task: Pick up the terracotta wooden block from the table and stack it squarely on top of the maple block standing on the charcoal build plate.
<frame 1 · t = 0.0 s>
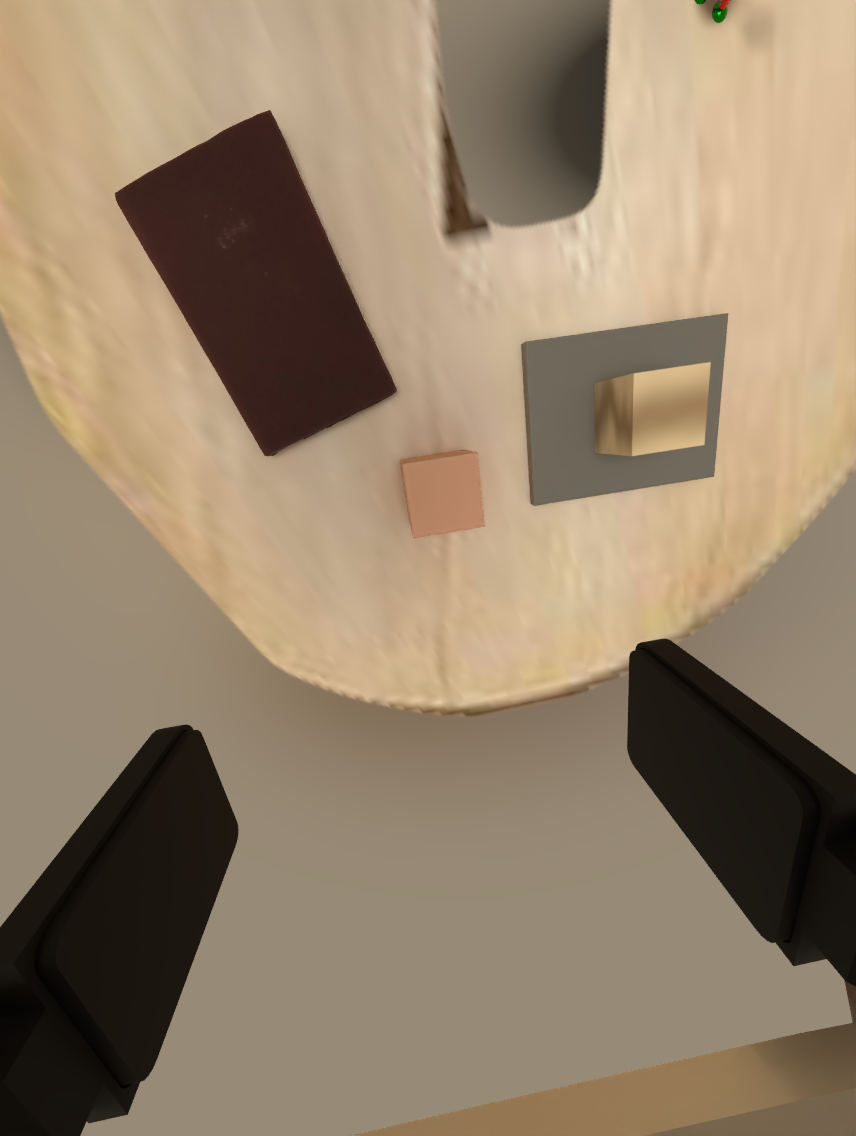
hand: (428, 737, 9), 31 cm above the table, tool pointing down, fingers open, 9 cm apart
build plate: (620, 414, 38), on the table
terracotta block: (436, 487, 38), on the table
maple block: (626, 414, 37), point 1 cm above the table, touching build plate
book: (277, 312, 33), on the table
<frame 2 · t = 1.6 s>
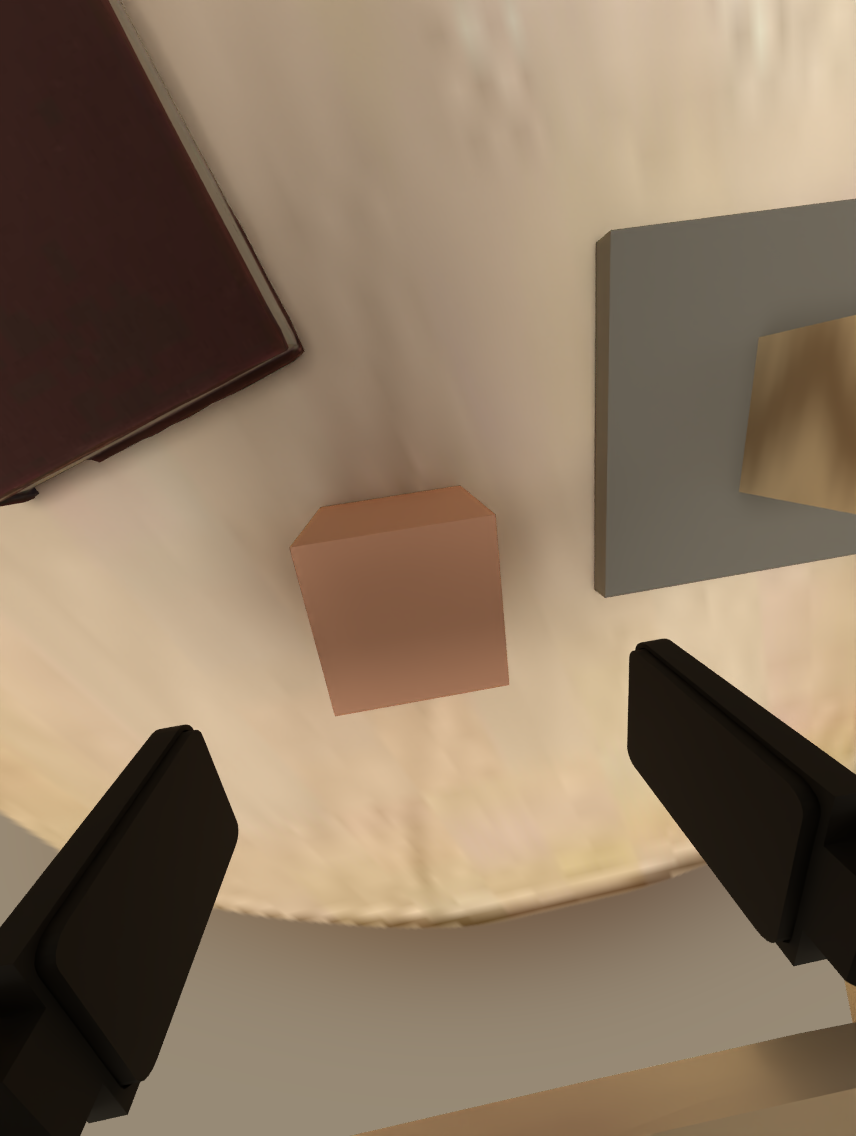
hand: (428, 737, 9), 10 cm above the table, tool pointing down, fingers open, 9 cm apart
build plate: (793, 409, 18), on the table
terracotta block: (402, 561, 18), on the table
maple block: (816, 408, 17), point 1 cm above the table, touching build plate
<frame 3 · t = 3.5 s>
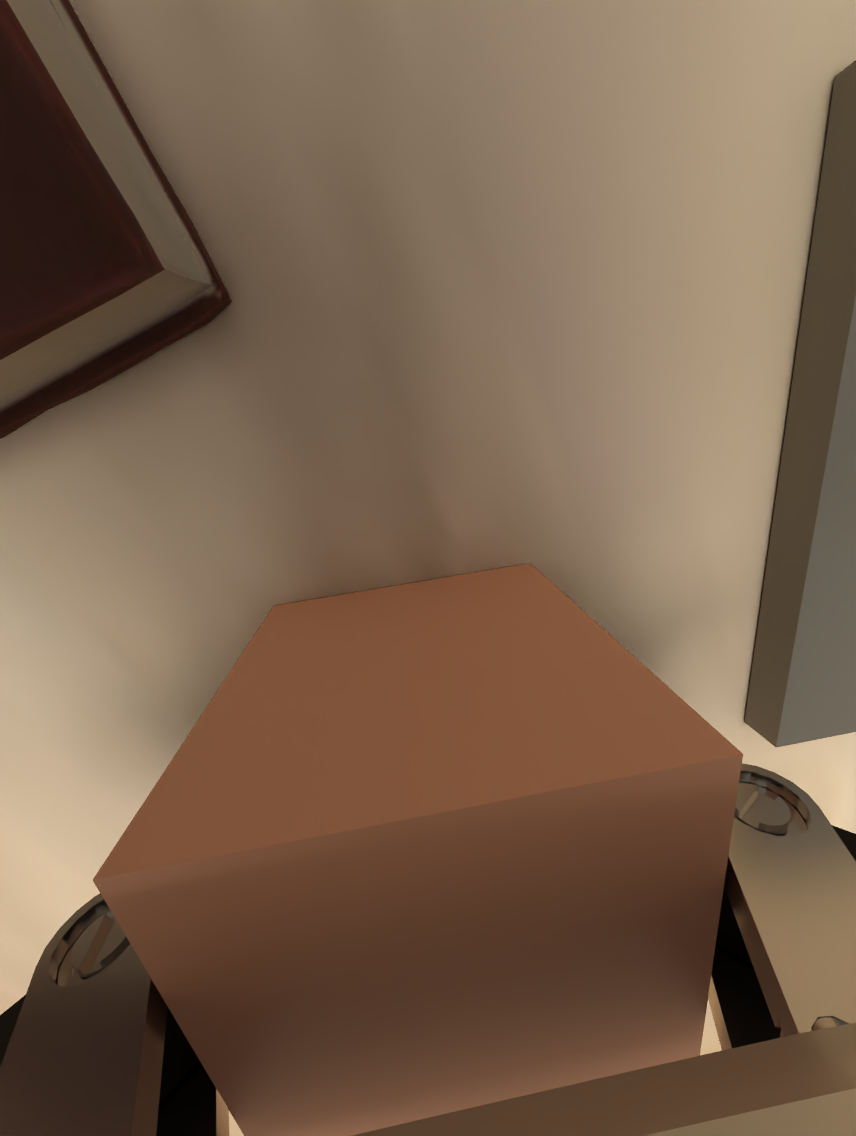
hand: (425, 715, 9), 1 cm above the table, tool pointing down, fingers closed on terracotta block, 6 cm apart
terracotta block: (422, 692, 10), on the table, touching gripper
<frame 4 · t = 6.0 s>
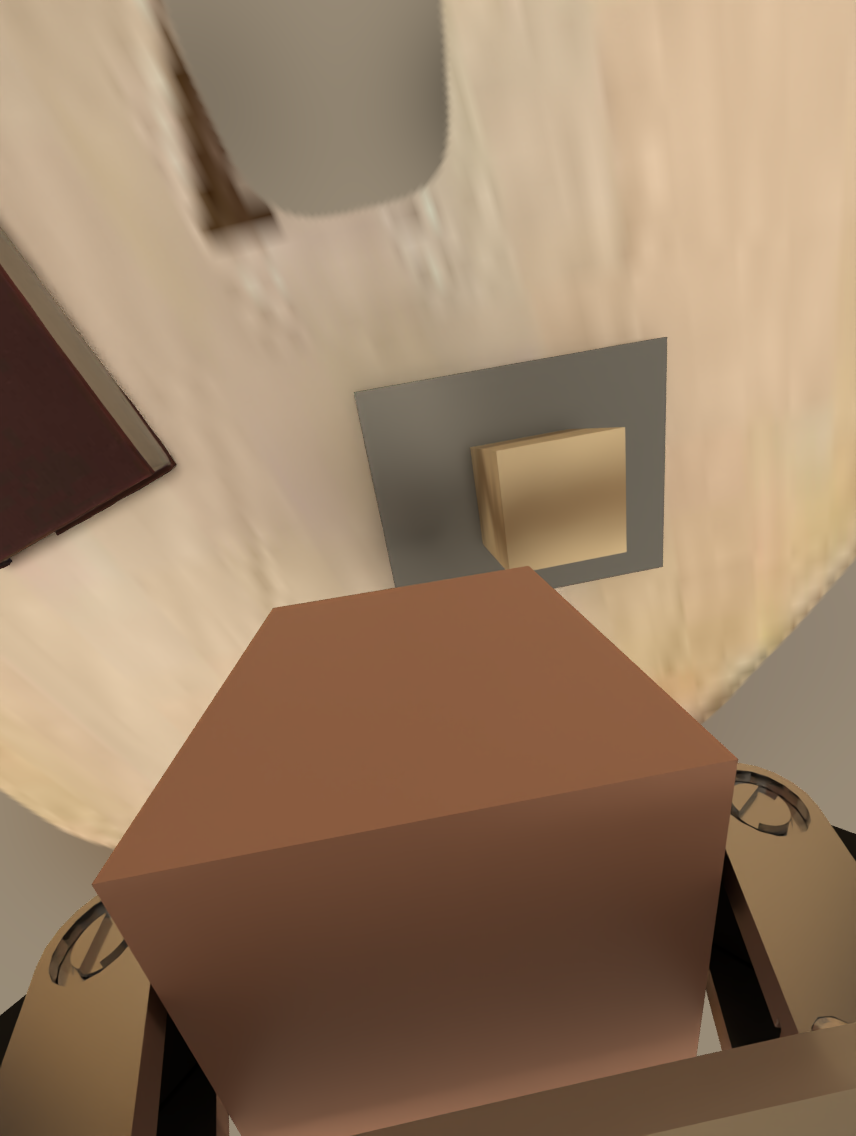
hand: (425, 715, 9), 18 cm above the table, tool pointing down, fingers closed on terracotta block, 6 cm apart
build plate: (519, 486, 26), on the table
terracotta block: (421, 694, 10), point 17 cm above the table, touching gripper
maple block: (524, 488, 25), point 1 cm above the table, touching build plate
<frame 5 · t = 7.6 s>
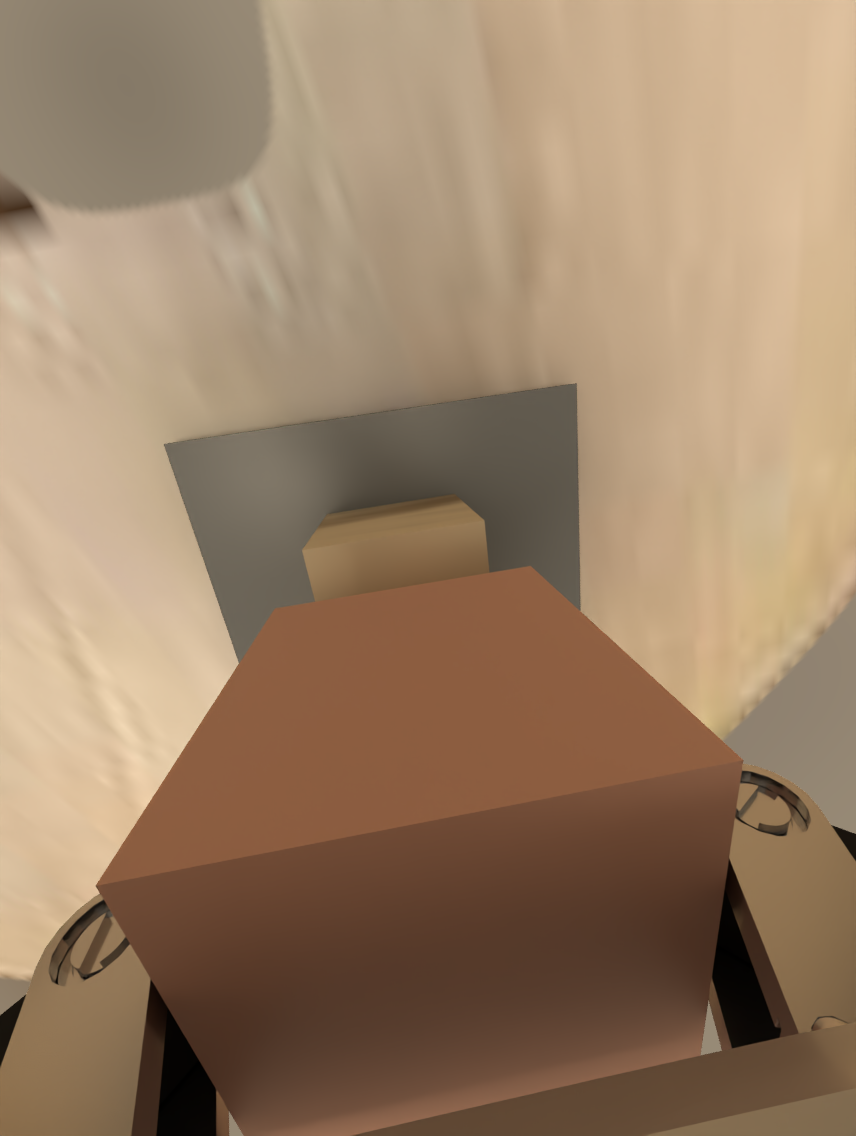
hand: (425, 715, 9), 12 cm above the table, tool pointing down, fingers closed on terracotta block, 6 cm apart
build plate: (400, 558, 21), on the table
terracotta block: (423, 694, 10), point 11 cm above the table, touching gripper
maple block: (401, 564, 20), point 1 cm above the table, touching build plate
when the fingers open (9 cm above the table, at t = 9.0 s): terracotta block drops 1 cm, resting on maple block.
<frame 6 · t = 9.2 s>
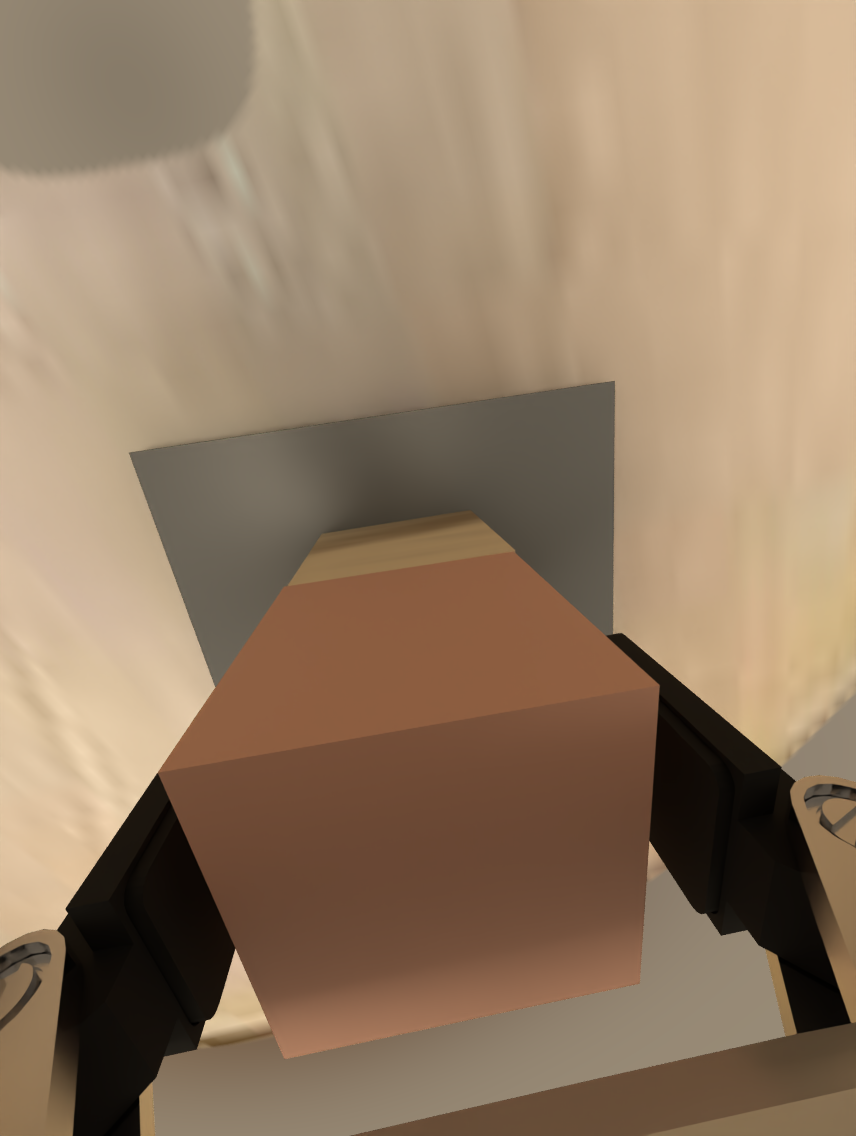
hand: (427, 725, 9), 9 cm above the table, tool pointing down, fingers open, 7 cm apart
build plate: (407, 582, 18), on the table
terracotta block: (416, 668, 11), point 7 cm above the table, touching maple block
maple block: (408, 590, 17), point 1 cm above the table, touching build plate, terracotta block
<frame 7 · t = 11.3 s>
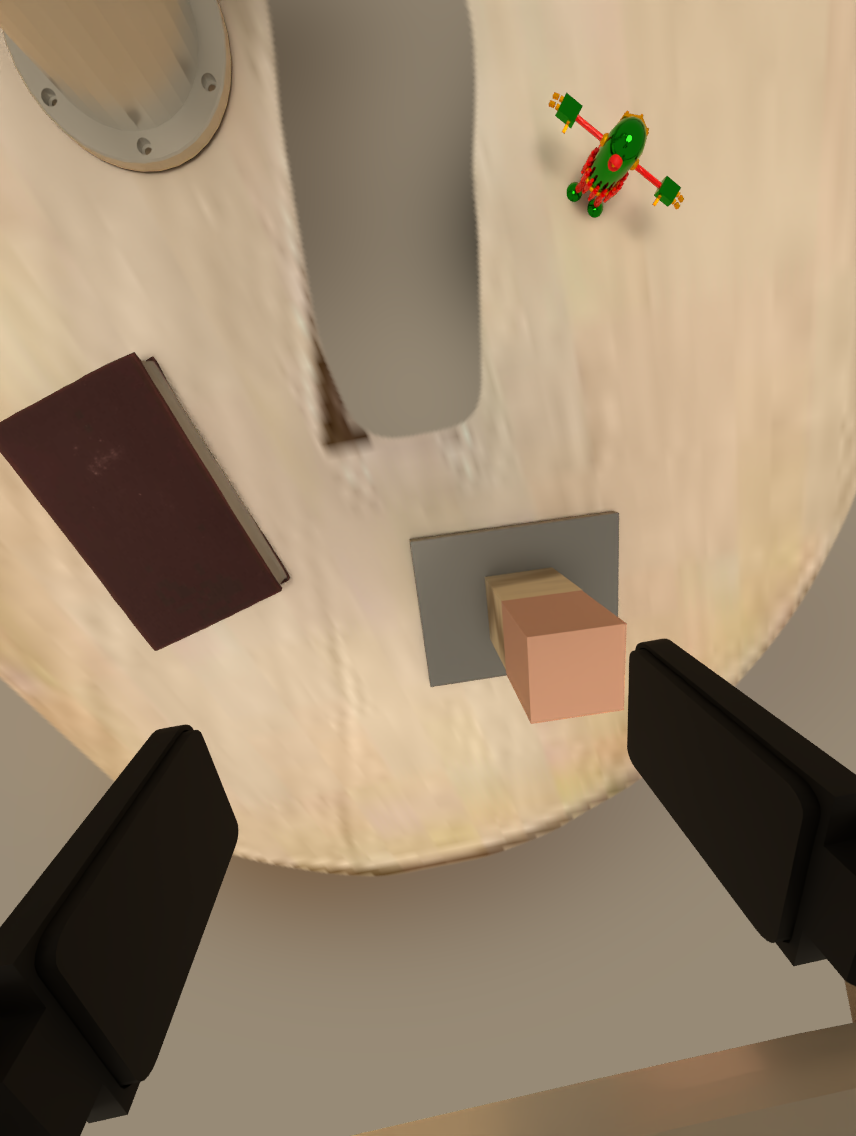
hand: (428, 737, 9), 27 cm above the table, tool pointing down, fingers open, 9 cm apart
build plate: (517, 599, 37), on the table
terracotta block: (543, 632, 30), point 7 cm above the table, touching maple block
maple block: (520, 603, 36), point 1 cm above the table, touching build plate, terracotta block
book: (166, 510, 33), on the table
toy character: (589, 190, 29), on the table
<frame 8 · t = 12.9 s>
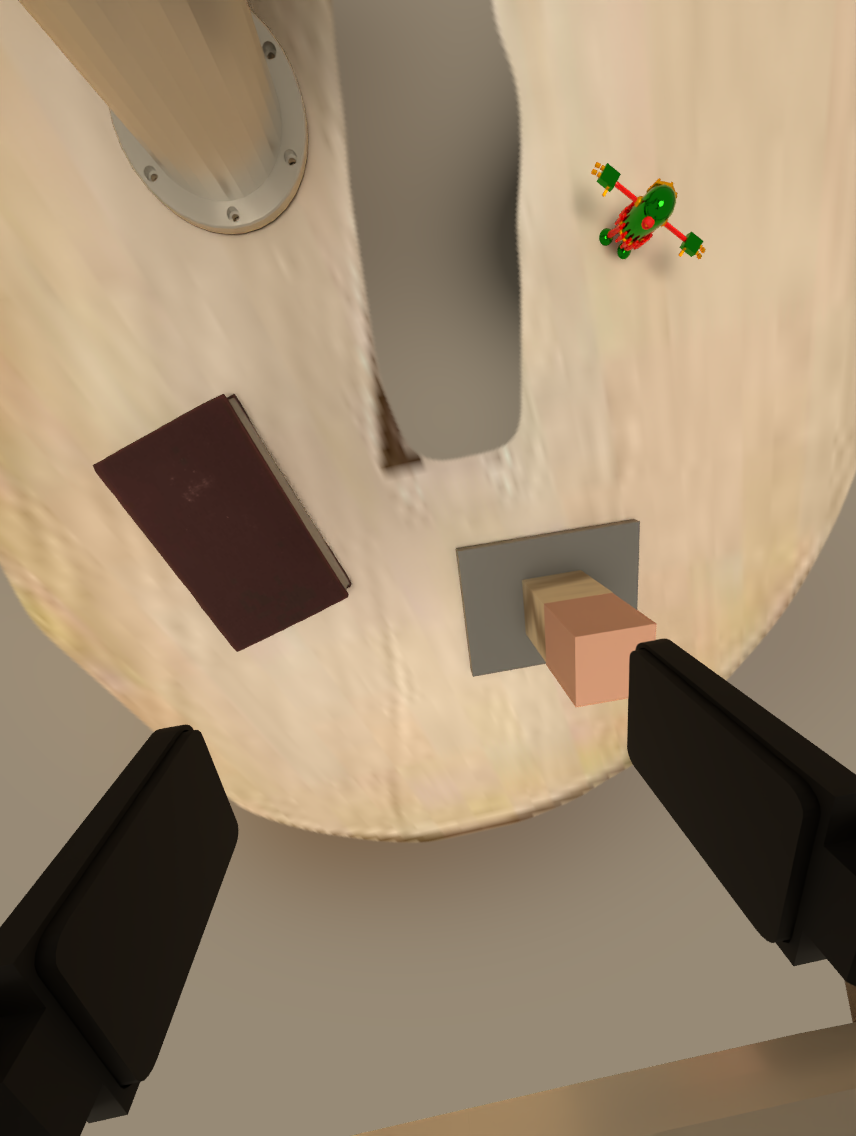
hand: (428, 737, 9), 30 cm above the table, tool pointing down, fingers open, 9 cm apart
build plate: (548, 598, 42), on the table
terracotta block: (578, 629, 35), point 7 cm above the table, touching maple block
maple block: (552, 602, 41), point 1 cm above the table, touching build plate, terracotta block
book: (241, 527, 37), on the table
toy character: (618, 234, 33), on the table
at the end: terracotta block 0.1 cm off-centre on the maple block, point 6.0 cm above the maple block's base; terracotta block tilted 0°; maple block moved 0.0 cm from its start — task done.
